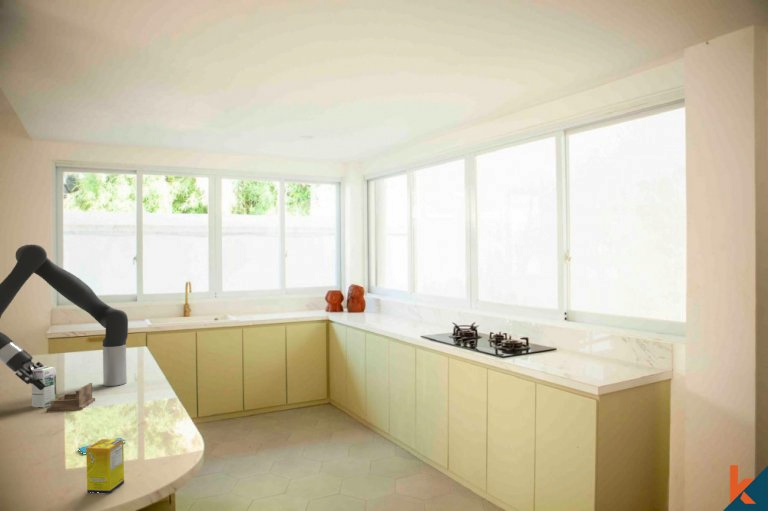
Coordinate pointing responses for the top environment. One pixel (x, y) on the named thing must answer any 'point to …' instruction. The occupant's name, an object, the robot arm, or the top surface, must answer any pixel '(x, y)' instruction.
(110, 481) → the supplement box
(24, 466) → the top surface
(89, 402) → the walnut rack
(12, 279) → the robot arm
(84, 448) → the sponge
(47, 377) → the syrup box
